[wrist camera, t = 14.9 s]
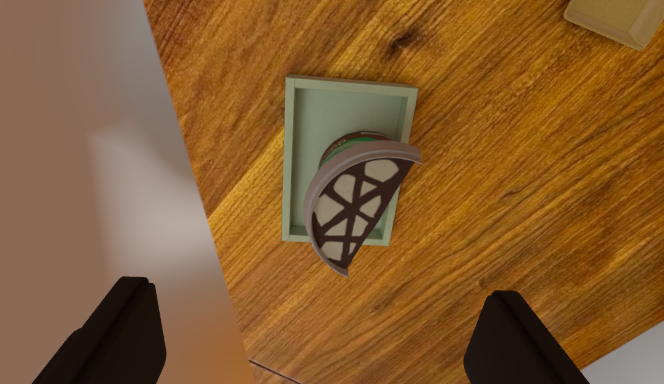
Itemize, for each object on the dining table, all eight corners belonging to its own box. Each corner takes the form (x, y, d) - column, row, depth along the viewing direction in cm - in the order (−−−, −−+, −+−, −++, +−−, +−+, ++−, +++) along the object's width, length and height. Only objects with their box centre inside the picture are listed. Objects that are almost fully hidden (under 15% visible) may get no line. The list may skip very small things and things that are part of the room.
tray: (283, 228, 38) (281, 241, 36) (287, 73, 31) (285, 77, 29) (384, 233, 39) (388, 246, 36) (411, 84, 32) (418, 88, 29)
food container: (339, 93, 31) (349, 118, 22) (395, 122, 33) (426, 157, 24) (286, 200, 36) (276, 257, 27) (337, 221, 37) (344, 282, 28)
